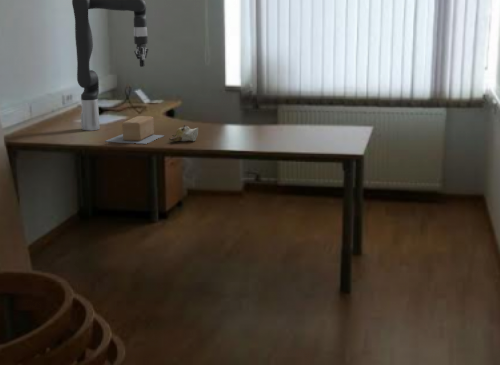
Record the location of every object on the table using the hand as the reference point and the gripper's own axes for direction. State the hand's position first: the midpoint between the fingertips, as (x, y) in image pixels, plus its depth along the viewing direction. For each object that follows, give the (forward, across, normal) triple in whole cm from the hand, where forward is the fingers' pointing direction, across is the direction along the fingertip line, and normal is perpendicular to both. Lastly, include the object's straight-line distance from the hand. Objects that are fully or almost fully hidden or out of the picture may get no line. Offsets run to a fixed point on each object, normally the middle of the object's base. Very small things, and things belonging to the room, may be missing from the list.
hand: (142, 66), depth 440 cm
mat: (+35, +30, +9) cm, 47 cm away
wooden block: (+30, +18, +10) cm, 36 cm away
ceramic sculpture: (+35, +28, +37) cm, 58 cm away
